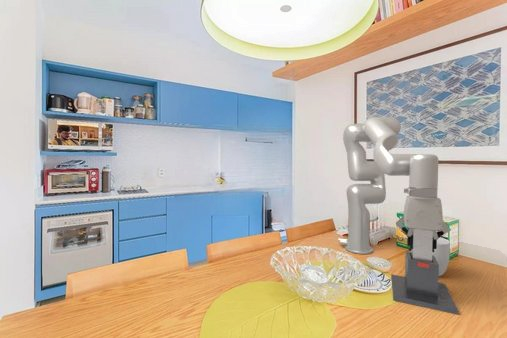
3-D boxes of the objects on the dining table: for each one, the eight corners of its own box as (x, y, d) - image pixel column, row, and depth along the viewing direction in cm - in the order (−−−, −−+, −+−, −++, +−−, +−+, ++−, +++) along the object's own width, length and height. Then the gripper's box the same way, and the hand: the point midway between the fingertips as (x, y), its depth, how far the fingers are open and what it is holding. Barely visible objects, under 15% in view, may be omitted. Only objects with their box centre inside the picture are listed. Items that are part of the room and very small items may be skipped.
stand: (393, 300, 78) (393, 262, 78) (391, 278, 93) (391, 246, 92) (457, 314, 71) (459, 272, 71) (444, 288, 86) (446, 253, 85)
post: (411, 289, 81) (413, 228, 80) (410, 282, 85) (411, 224, 84) (431, 293, 79) (433, 230, 78) (428, 286, 83) (430, 226, 82)
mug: (426, 283, 89) (427, 246, 88) (399, 270, 100) (400, 237, 99) (456, 277, 93) (457, 242, 93) (428, 265, 104) (428, 233, 103)
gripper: (392, 193, 81) (391, 248, 82) (459, 196, 73) (457, 258, 74) (391, 190, 88) (390, 242, 89) (453, 193, 80) (451, 249, 81)
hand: (421, 248), depth 81 cm, fingers closed on post, 5 cm apart
